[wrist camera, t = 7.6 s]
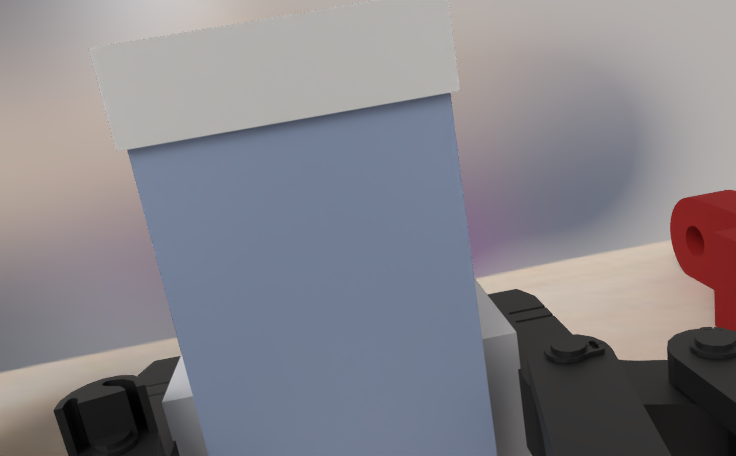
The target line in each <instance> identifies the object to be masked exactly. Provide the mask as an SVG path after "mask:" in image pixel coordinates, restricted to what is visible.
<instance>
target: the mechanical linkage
mask: <svg viewBox="0 0 736 456" xmlns="http://www.w3.org/2000/svg"><path fill="white" fill-rule="evenodd" d="M670 225H671V226H670V232H671V240H672V245H673V249H674V252H675V255H676V258H677V260H678V262H679V264H680V266H681V267H682V269H683V271H684V272H685V273H686V274H687V275H689V276H690V277H692V278H694V279H696V280H697V281H699V282H701V283H703V284H705V285H706V286H708V287H710V288H712V289H714V291H715V326H716V327H720V328H725V329H727V330H732V331H736V191H733V190H724V191H719V192H714V193H708V194H703V195H698V196H692V197H687V198H683V199H681V200H680V201H679V202H678V203H677V204H676V205H675V207H674V209H673V212H672V216H671V223H670Z"/></svg>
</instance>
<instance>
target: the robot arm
mask: <svg viewBox="0 0 736 456" xmlns="http://www.w3.org/2000/svg"><path fill="white" fill-rule="evenodd" d="M474 280H475V278H474ZM475 288H476V295H477V303H478V311H479V319H480V326H481V334H482V342H483V350H484V357H485V365H486V373H487V381H488V388H489V396H490V404H491V412H492V419H493V427H494V435H495V443H496V450H497V456H530V453H531V455H532V456H736V331H732V330H727V329H725V328H720V327H714V328H712V327H702V328H700V329H693V330H687V331H684V332H682V333H679V334H676V335H674V336H673V337H672V338H671V339H670V340H669V341H668V347H667V353H668V360H651V361H627V360H618V358H617V357H616V355H615V353H614V351H613V349H612V348H611V347H610V346H609V345H608V344H607V343H606V342H604V341H601V340H599V339H597V338H594V337H590V336H584V335H572V334H571V333H570V332H569V330H568V329H567V328H566V327H565V326H564V325H563V324H562V323H561V322H560V321H559V320H558V319H557V318H556V317H555V316H553V315H552V313H551V312H550V311H549V310H548V309H547V308H545V307H544V305H543V304H542V303H541V302H540V301H539V300H538V299H537V298H536V297H535V296H534V295H531V294H529V293H526V292H523V291H521V290H518V289H514V290H509V291H504V292H498V293H493V294H488V295H487V294H486V293H485V291H484V290H483V289H482V287H481V286H480V285H479V284H478V282H477V281H476V280H475ZM54 413H55V416H56V419H57V422H58V425H59V428H60V431H61V434H62V437H63V440H64V443H65V446H66V449H67V452H68V455H69V456H209V455H208V451H207V447H206V444H205V440H204V436H203V432H202V429H201V425H200V421H199V417H198V414H197V410H196V406H195V402H194V399H193V395H192V391H191V387H190V384H189V380H188V376H187V372H186V369H185V365H184V361H183V357H182V354H181V356H178V357H173V358H168V359H163V360H158V361H154V362H153V363H152V364H151V365H149V366H148V367H147V368H146V369H145V370H144V371H142V372H141V373H140V374H139V375H138V377H137V376H134V375H119V376H114V377H109V378H104V379H101V380H98V381H95V382H93V383H90V384H87V385H85V386H83V387H81V388H79V389H77V390H75V391H73V392H71V393H70V394H69V395H68V396H66V397H65V398H64V399H62V400H61V401H60V402H59V403H58V405H57V406H56V408H55V409H54Z"/></svg>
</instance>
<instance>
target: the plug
mask: <svg viewBox="0 0 736 456" xmlns="http://www.w3.org/2000/svg"><path fill="white" fill-rule="evenodd" d="M89 52H90V55H91V59H92V63H93V67H94V70H95V74H96V77H97V81H98V85H99V89H100V92H101V96H102V100H103V103H104V107H105V111H106V114H107V118H108V122H109V126H110V129H111V133H112V136H113V140H114V144H115V148H116V151H122V150H128V154H129V158H130V162H131V165H132V169H133V173H134V177H135V181H136V184H137V188H138V192H139V196H140V199H141V203H142V207H143V210H144V214H145V218H146V222H147V226H148V229H149V233H150V237H151V240H152V244H153V248H154V252H155V256H156V259H157V263H158V267H159V271H160V275H161V278H162V282H163V286H164V290H165V293H166V297H167V300H168V304H169V308H170V312H171V316H172V320H173V323H174V327H175V331H176V335H177V338H178V342H179V346H180V350H181V353H182V357H183V361H184V365H185V369H186V372H187V376H188V380H189V384H190V387H191V391H192V395H193V399H194V402H195V406H196V410H197V414H198V417H199V421H200V425H201V429H202V432H203V436H204V440H205V444H206V447H207V451H208V455H209V456H497V450H496V443H495V435H494V427H493V419H492V412H491V404H490V396H489V388H488V381H487V373H486V365H485V357H484V350H483V342H482V334H481V326H480V319H479V311H478V303H477V295H476V288H475V280H474V272H473V264H472V257H471V249H470V241H469V234H468V226H467V218H466V210H465V202H464V195H463V187H462V179H461V171H460V164H459V156H458V148H457V142H456V141H457V140H456V133H455V125H454V117H453V110H452V102H451V94H450V93H451V92H456V91H460V87H459V79H458V72H457V63H456V55H455V47H454V39H453V32H452V24H451V15H450V7H449V0H374V1H368V2H362V3H357V4H350V5H344V6H338V7H332V8H327V9H321V10H314V11H308V12H303V13H297V14H291V15H285V16H279V17H273V18H267V19H261V20H255V21H249V22H244V23H237V24H231V25H225V26H220V27H214V28H207V29H202V30H196V31H190V32H184V33H178V34H172V35H167V36H160V37H154V38H148V39H142V40H136V41H130V42H124V43H118V44H113V45H106V46H100V47H95V48H89Z"/></svg>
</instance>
